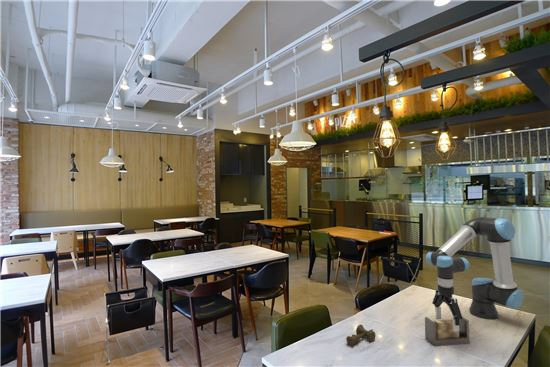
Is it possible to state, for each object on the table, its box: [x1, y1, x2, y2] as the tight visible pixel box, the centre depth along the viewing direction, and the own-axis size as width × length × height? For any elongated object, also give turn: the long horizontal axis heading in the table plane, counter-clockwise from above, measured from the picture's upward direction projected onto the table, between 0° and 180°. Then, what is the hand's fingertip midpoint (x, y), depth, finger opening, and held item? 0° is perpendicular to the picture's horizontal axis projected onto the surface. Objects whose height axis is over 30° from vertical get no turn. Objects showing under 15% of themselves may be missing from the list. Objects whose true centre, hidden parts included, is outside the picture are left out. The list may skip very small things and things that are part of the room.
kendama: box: [345, 324, 377, 347], centre depth 158 cm, size 6×10×20 cm
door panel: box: [433, 318, 459, 339], centre depth 156 cm, size 12×3×10 cm, turn 96°
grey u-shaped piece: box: [424, 316, 470, 347], centre depth 156 cm, size 20×7×12 cm, turn 96°
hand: (447, 324), depth 156 cm, fingers open, 13 cm apart
